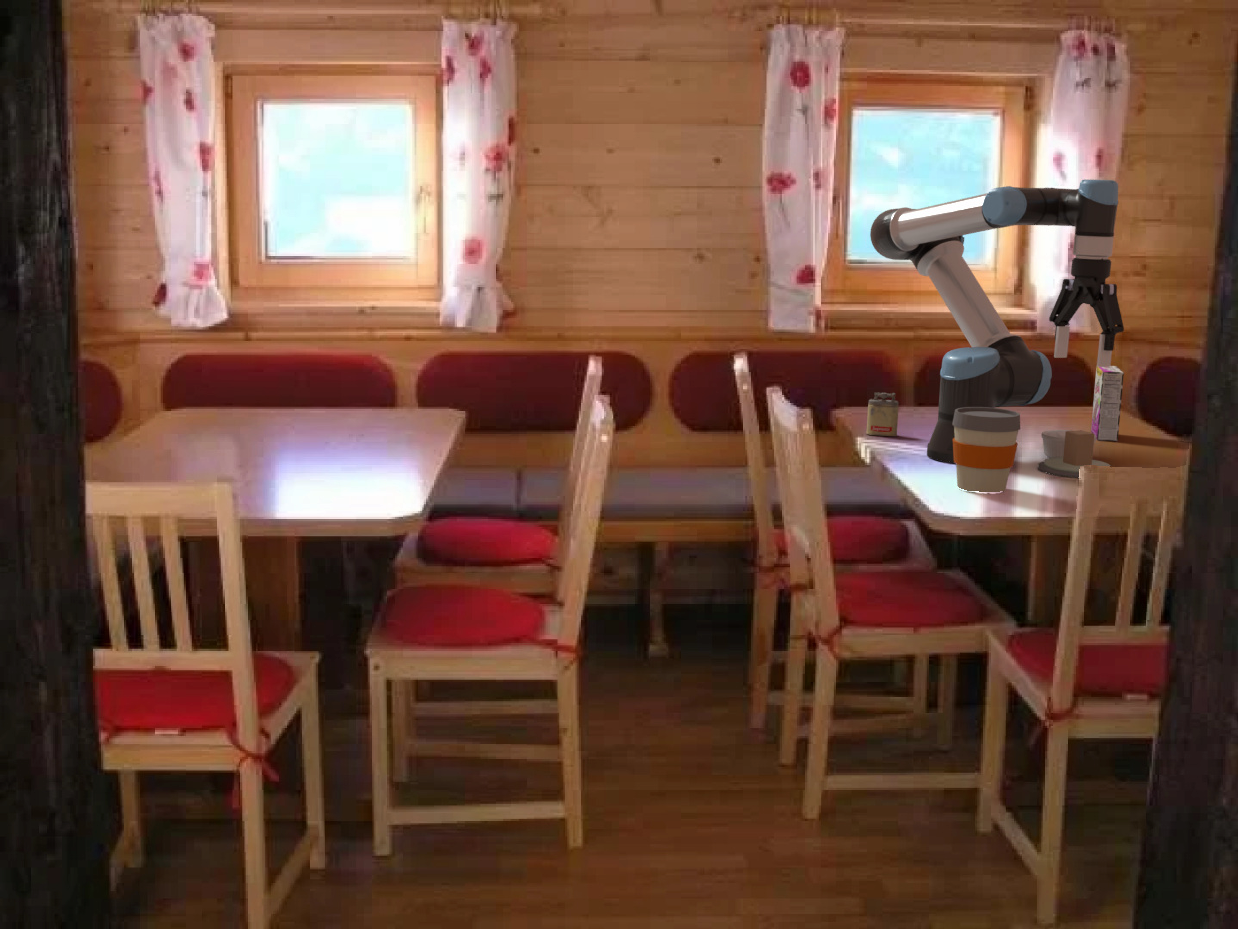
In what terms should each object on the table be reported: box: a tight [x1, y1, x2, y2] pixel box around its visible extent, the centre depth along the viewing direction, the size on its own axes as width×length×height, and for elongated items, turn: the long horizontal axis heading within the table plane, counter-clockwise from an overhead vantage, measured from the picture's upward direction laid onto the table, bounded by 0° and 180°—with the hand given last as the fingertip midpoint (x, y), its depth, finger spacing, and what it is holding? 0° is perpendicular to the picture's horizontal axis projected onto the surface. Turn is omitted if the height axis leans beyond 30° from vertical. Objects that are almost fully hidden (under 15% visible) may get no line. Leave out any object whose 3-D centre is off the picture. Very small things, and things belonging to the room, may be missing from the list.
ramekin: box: [1041, 429, 1097, 458], centre depth 292 cm, size 11×11×5 cm
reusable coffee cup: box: [952, 407, 1021, 492], centre depth 258 cm, size 13×13×15 cm
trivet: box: [1037, 461, 1079, 479], centre depth 278 cm, size 15×15×1 cm
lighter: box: [865, 392, 900, 437], centre depth 314 cm, size 7×4×10 cm, turn 76°
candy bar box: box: [1090, 365, 1125, 442], centre depth 317 cm, size 11×5×16 cm, turn 168°
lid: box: [1044, 430, 1111, 473], centre depth 277 cm, size 13×13×7 cm
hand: (1081, 362), depth 276 cm, fingers open, 13 cm apart
